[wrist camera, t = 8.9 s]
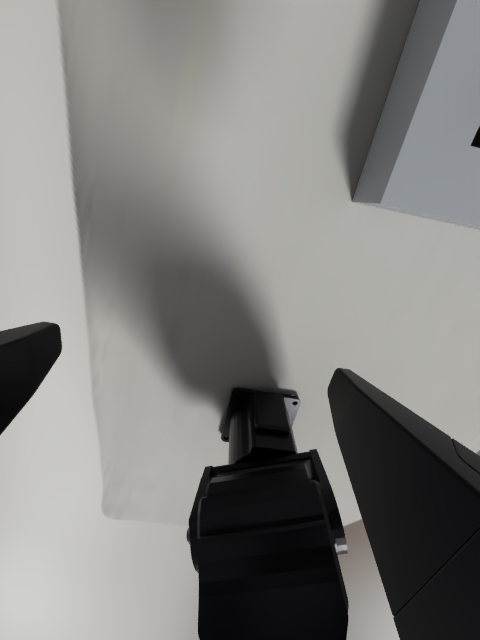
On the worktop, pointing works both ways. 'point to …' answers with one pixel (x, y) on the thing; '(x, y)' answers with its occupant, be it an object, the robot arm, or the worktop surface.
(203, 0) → the worktop surface
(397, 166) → the socket
